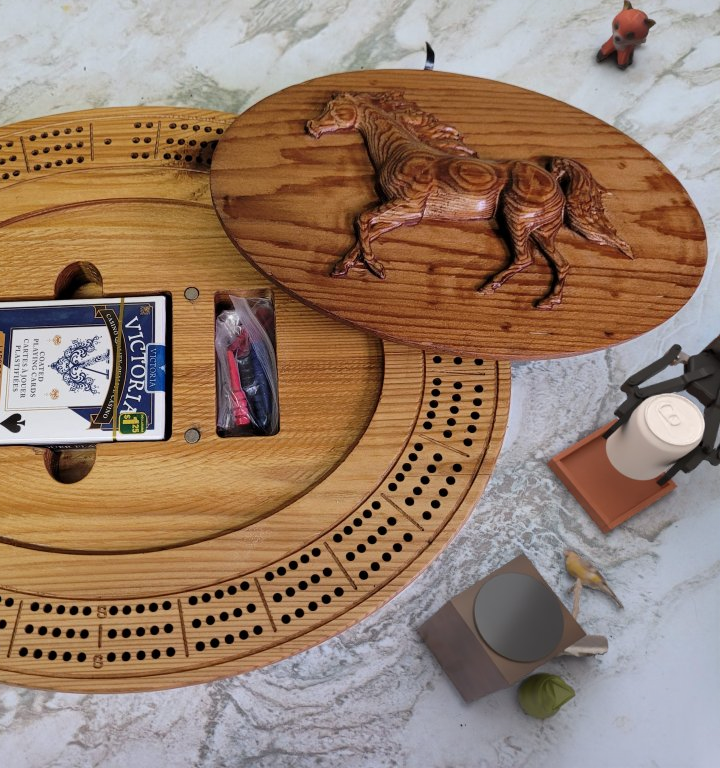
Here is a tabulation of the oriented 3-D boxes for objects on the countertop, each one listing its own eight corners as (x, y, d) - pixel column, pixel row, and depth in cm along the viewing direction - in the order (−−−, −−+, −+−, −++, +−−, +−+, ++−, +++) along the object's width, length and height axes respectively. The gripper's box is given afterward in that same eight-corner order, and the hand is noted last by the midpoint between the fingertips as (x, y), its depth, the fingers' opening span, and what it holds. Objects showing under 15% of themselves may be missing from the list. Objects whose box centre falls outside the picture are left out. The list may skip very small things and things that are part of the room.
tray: (670, 491, 121) (678, 486, 119) (604, 534, 118) (610, 529, 116) (610, 423, 126) (617, 417, 124) (546, 463, 123) (551, 458, 121)
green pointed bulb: (535, 669, 111) (561, 658, 102) (563, 704, 109) (592, 696, 100) (503, 692, 110) (527, 684, 101) (531, 729, 107) (557, 723, 98)
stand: (531, 659, 111) (587, 634, 93) (466, 703, 109) (510, 686, 91) (480, 589, 116) (523, 552, 98) (416, 629, 114) (449, 599, 96)
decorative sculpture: (560, 549, 118) (578, 535, 111) (628, 579, 116) (651, 566, 109) (527, 655, 112) (544, 646, 105) (598, 688, 109) (621, 681, 103)
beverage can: (626, 490, 112) (666, 458, 101) (592, 439, 115) (628, 403, 104) (677, 469, 113) (722, 434, 102) (642, 419, 116) (682, 381, 105)
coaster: (580, 633, 93) (582, 632, 93) (511, 679, 92) (512, 679, 91) (523, 558, 97) (524, 556, 97) (455, 601, 95) (456, 600, 95)
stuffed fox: (654, 52, 160) (684, -2, 149) (619, 81, 157) (647, 29, 146) (622, 32, 162) (649, -22, 152) (586, 61, 159) (611, 8, 149)
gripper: (791, 418, 112) (689, 524, 106) (663, 320, 119) (560, 414, 113) (827, 394, 105) (719, 506, 99) (688, 291, 113) (581, 390, 107)
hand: (635, 457), depth 106 cm, fingers closed on beverage can, 8 cm apart
